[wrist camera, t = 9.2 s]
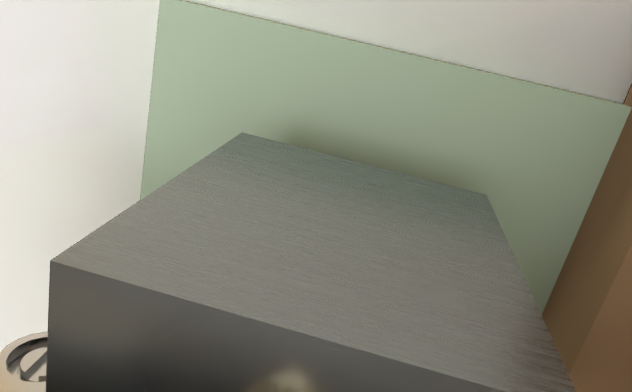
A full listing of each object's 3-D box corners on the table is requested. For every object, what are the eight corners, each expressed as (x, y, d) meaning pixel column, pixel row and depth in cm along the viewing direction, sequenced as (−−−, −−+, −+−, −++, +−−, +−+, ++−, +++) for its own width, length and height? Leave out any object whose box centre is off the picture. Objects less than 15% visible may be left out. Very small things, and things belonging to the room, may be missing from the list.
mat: (644, 109, 12) (654, 112, 12) (481, 476, 16) (483, 489, 16) (168, -3, 13) (160, -4, 13) (129, 368, 17) (122, 378, 17)
